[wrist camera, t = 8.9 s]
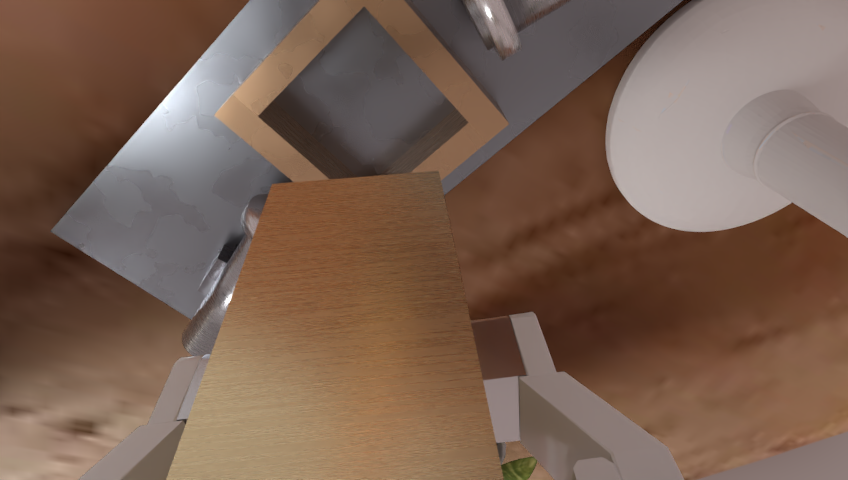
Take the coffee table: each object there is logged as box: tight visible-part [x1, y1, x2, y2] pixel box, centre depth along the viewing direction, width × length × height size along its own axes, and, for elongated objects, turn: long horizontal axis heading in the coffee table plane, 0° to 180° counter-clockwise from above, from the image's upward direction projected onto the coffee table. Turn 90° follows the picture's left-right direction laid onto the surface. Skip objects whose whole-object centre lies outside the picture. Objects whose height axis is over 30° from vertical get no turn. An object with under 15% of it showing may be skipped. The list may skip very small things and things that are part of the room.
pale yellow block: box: [166, 171, 504, 480], centre depth 10 cm, size 4×4×10 cm
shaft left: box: [182, 194, 268, 356], centre depth 26 cm, size 9×4×4 cm, turn 144°
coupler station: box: [51, 0, 683, 319], centre depth 23 cm, size 32×12×4 cm, turn 132°
